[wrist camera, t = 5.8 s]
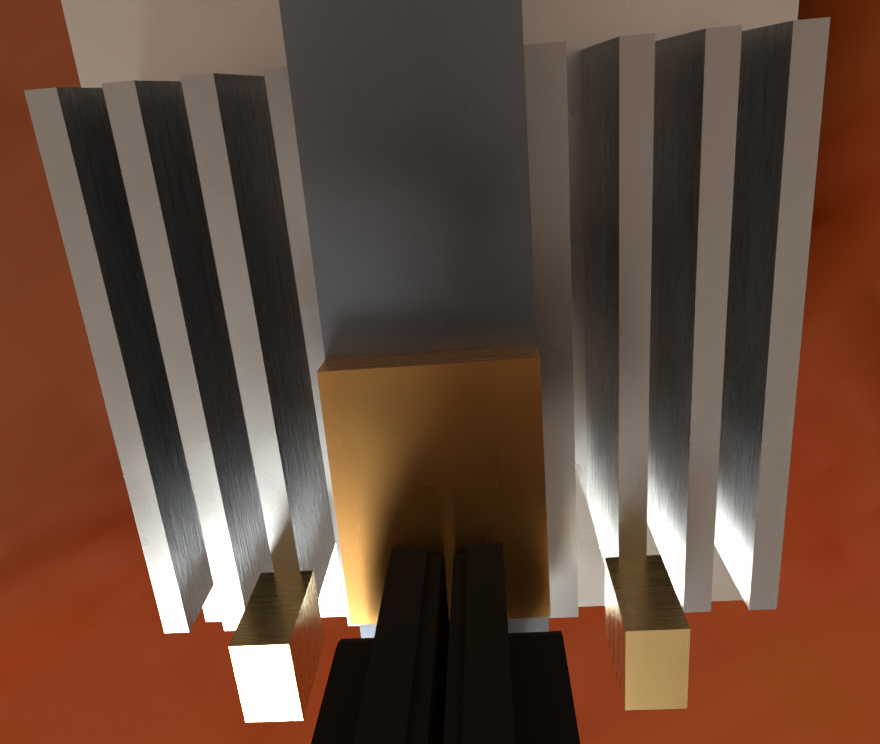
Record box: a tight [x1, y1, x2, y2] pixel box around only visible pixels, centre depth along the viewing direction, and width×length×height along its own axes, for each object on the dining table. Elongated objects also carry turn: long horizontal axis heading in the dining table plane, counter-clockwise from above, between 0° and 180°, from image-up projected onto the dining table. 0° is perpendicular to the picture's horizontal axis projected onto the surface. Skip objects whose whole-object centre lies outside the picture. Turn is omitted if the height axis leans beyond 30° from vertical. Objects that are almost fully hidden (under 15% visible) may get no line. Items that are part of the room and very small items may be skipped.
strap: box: [279, 0, 551, 638], centre depth 10 cm, size 16×3×2 cm, turn 5°
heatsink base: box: [24, 0, 830, 722], centre depth 13 cm, size 20×14×7 cm
